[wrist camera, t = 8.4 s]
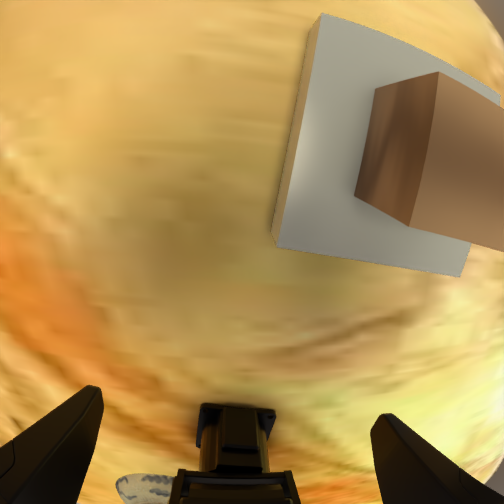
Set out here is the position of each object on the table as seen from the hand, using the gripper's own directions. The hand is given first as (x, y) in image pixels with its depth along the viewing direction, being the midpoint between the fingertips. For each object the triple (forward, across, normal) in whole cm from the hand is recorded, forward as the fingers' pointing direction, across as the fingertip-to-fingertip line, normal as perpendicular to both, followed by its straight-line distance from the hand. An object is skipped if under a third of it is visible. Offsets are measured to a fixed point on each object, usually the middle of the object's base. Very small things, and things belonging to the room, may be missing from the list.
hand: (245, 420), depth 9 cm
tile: (+12, -8, -9) cm, 17 cm away
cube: (+10, -8, -9) cm, 15 cm away
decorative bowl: (+13, +4, +35) cm, 38 cm away
